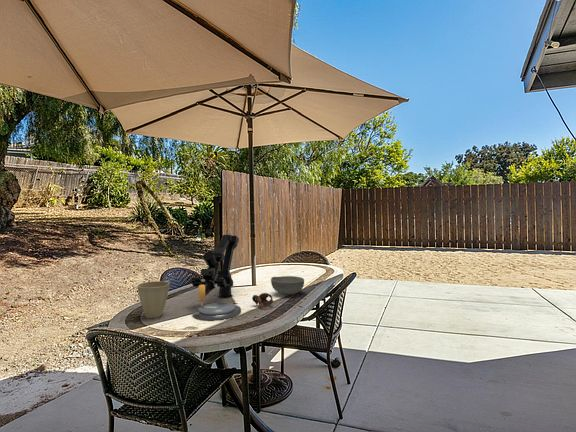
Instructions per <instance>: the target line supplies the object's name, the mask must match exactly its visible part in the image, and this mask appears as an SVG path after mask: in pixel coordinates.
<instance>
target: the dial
mask: <svg viewBox="0 0 576 432" xmlns="http://www.w3.org/2000/svg"><path fill="white" fill-rule="evenodd" d="M205 301H206V296H205V285H199V287H198V302H200V305H201V306H199V307H200V308H199V313H200V314H203V315H210V316H215V315H224V314H228V313H231V312H233V311H234V310H235V306H234V305H235V304H234V303H229V302H212V303H207V304H205V305H204V302H205Z"/></svg>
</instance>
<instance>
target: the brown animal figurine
mask: <svg viewBox="0 0 576 432" xmlns="http://www.w3.org/2000/svg"><path fill="white" fill-rule="evenodd" d="M268 297H269V298H270V299H267V298H268ZM251 300H252V301H253V303H255V305H256V306H257V305H259V309H261V310H264V308H266V307H270V306H271V305H272V304H273V303H274V299H273V296H272V295H271V293H268V292H262V293H260V294H259V295H257V294H253V295H252V297H251Z"/></svg>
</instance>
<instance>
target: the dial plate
mask: <svg viewBox="0 0 576 432" xmlns="http://www.w3.org/2000/svg"><path fill="white" fill-rule="evenodd" d="M233 305H234V306H235V310H234V311H233V312H231V313H228V314H224V315H215V316H210V315H203V314H200V313H199V308H200V307H201V306H198V307H196V308H195V309H193V310H192V317H193V318H194V319H196V320H198V319H199V321H203V322H204V321H205V322H206V321H207V322H215V321H214V320H219V321H225V320H224V319H226V320H230V319H233V317H234V318H236V317H238V316H239V315H241V313H242V308H241V307H240V306H239V305H236V304H233ZM229 318H230V319H229Z"/></svg>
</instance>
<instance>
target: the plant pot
mask: <svg viewBox="0 0 576 432" xmlns="http://www.w3.org/2000/svg"><path fill="white" fill-rule="evenodd" d="M136 287H137V292H138V293H137V294H138V297H139V298H138V299H139V301H140V305H141V307H142V310H143V313H144V315H145V317H146V318H147V319H156V318H160V317H161V316H162V315H163V313H164V310H165V307H166V304H167V300H168V295H169V288H170V282H168V281H164V280H163V281H162V280H158V281H147V282H141V283H139V284H138V285H137V286H136Z"/></svg>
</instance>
